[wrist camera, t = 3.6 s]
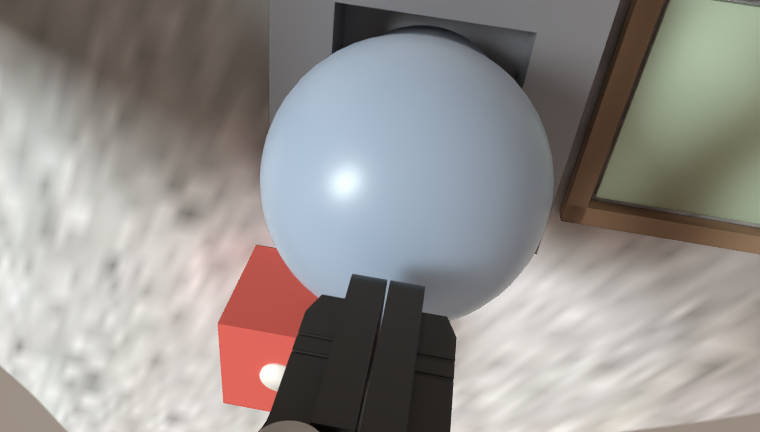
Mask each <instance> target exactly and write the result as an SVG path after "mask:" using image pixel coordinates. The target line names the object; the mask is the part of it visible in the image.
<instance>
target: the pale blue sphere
mask: <svg viewBox="0 0 760 432" xmlns="http://www.w3.org/2000/svg"><path fill="white" fill-rule="evenodd" d="M553 188H554V174H553V161H552V154H551V150H550V146H549V142H548V138H547V135H546V132H545V129H544V127H543V124H542V122H541V119H540V117H539V114H538V113H537V111H536V110H535V108H534V106H533V105H532V103H531V101H530V100H529V98H528V97H527V95H526V94H525V92H524V91H523V90H522V89H521V87H520V86H519V85H518V84H517V83H516V81H515V80H514V79H513V78H512V77H511V76H510V75H509V74H508V73H507V72H506V71H504V70H503V69H502V68H501V67H500V66H499V65H497V64H496V63H494V62H493V61H492V60H490V59H489V58H488V57H487V56H486V55H485V54H484V52H483V51H482V50H481V49H480V48H479V47H477V46H476V45H475V44H474V43H473V42H471V41H470V40H468V39H467V38H466V37H464V36H462V35H460V34H458V33H456V32H453V31H451V30H448V29H445V28H441V27H436V26H428V25H412V26H406V27H400V28H397V29H394V30H391V31H389V32H386V33H384V34H382V35H380V36H379V37H373V38H369V39H366V40H363V41H359V42H356V43H353V44H351V45H349V46H347V47H345V48H343V49H341V50H338V51H336V52H335V53H333V54H332V55H330V56H329V57H327V58H326V59H324V60H323V61H321V62H320V63H318V64H317V65H315V66H314V67H313V68H312V69H311V70H310V71H309V72H307V73H306V74H305V75H304V76H303V77H302V78H301V79H300V81H299V82H298V83H297V84H296V85H295V87H294V88H293V89H292V90H291V91H290V93H289V94H288V95H287V96H286V98H285V99H284V101H283V102H282V104H281V106H280V108H279V109H278V111H277V113H276V115H275V117H274V119H273V122H272V124H271V126H270V129H269V132H268V134H267V137H266V141H265V145H264V149H263V154H262V160H261V167H260V192H261V203H262V209H263V213H264V217H265V221H266V224H267V227H268V231H269V233H270V236H271V238H272V241H273V243H274V245H275V247H276V249H277V250H278V252H279V254H280V256H281V257H282V259H283V261H284V262H285V264H286V265H287V267H288V268H289V269H290V271H291V272H292V273H293V275H294V276H295V277H296V278H297V279H298V280H299V281H300V282H301V283H302V284H303V285H304V286H305V287H306V288H307V289H308V290H309V291H311V292H312V293H313V294H314V295H315V296H316V297H318V298H319V297H320V296H321V295H322V294H323V295H329V296H334V297H340V298H345V296H346V293H347V289H348V286H349V282H350V279H351V276H352V274H358V275H363V276H369V277H375V278H380V279H386V280H387V287H386V294H385V300H384V307H383V313H384V308H385V303H386V298H387V294H388V289H389V284H390V280H393V281H398V282H404V283H410V284H415V285H421V286H425V294H424V301H423V309H422V312H424V313H430V314H435V315H441V316H447V317H448V320H449V321H451V320H454V319H457V318H460V317H462V316H465V315H468V314H469V313H471V312H473V311H475V310H477V309H479V308H481V307H482V306H484V305H485V304H487V303H488V302H489V301H491V300H492V299H494V298H495V297H497V296H498V295H500V294H501V293H502V292H503V291H504V290H505V289H506V288H507V287H508V286H510V285H511V283H512V282H513V281H514V280H515V279H516V278H517V277H518V275H519V274H520V273H521V272H522V271H523V269H524V268H525V267H526V266H527V264H528V263H529V261H530V259H531V258H532V256H533V255H534V253H535V251H536V249H537V247H538V245H539V243H540V241H541V239H542V236H543V234H544V231H545V229H546V226H547V222H548V218H549V214H550V209H551V205H552V200H553ZM382 318H383V314H382ZM381 323H382V321H381Z"/></svg>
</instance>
